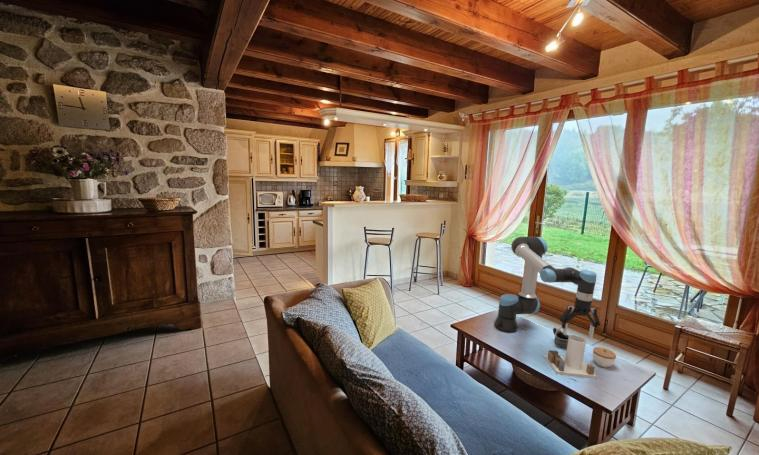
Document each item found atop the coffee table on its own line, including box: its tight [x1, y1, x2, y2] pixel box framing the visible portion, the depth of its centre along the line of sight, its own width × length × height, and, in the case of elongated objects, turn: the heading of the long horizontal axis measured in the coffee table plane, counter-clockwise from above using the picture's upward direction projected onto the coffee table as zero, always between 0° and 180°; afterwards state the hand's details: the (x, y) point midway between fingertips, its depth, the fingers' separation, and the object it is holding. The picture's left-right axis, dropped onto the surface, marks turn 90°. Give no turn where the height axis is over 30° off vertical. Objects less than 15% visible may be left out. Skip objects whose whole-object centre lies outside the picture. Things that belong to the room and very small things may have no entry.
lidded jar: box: [592, 346, 617, 368], centre depth 183 cm, size 11×11×9 cm
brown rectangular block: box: [551, 350, 563, 367], centre depth 180 cm, size 9×3×5 cm, turn 173°
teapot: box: [552, 326, 570, 349], centre depth 203 cm, size 10×12×10 cm
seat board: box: [544, 349, 598, 380], centre depth 179 cm, size 17×20×6 cm
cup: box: [565, 334, 587, 369], centre depth 178 cm, size 8×8×16 cm
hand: (577, 335), depth 177 cm, fingers open, 13 cm apart
